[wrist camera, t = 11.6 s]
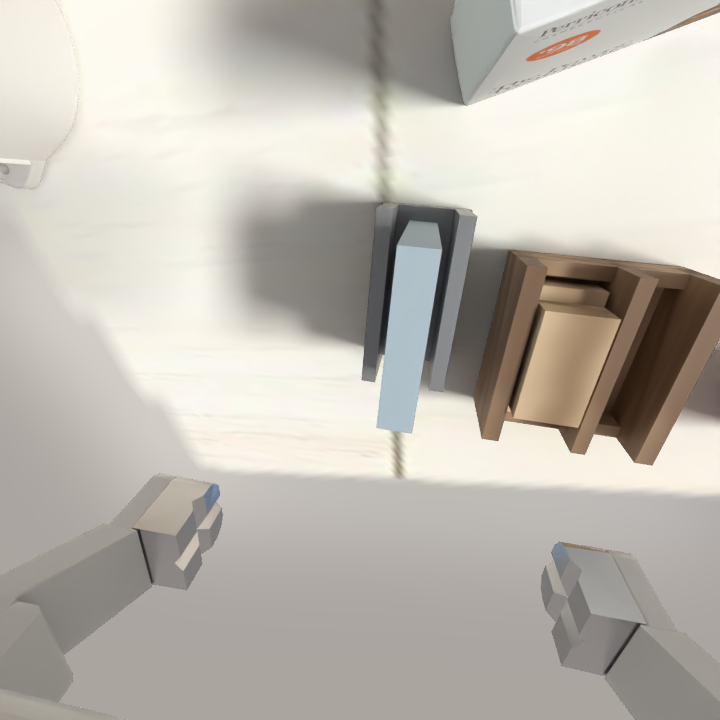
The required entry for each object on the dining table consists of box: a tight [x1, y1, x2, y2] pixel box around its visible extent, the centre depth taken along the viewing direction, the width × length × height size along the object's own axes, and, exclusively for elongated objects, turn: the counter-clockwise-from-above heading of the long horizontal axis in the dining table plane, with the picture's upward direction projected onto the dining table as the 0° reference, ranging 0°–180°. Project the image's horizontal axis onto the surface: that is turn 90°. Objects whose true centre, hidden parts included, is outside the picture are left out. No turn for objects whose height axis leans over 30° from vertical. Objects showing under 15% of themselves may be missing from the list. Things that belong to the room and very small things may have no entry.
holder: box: [362, 202, 477, 392], centre depth 28 cm, size 6×12×6 cm, turn 176°
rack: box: [474, 250, 720, 465], centre depth 28 cm, size 12×13×6 cm
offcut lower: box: [507, 277, 610, 412], centre depth 29 cm, size 4×10×3 cm, turn 176°
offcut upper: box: [509, 300, 621, 428], centre depth 26 cm, size 4×8×2 cm, turn 176°
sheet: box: [377, 220, 442, 434], centre depth 24 cm, size 2×10×12 cm, turn 176°
